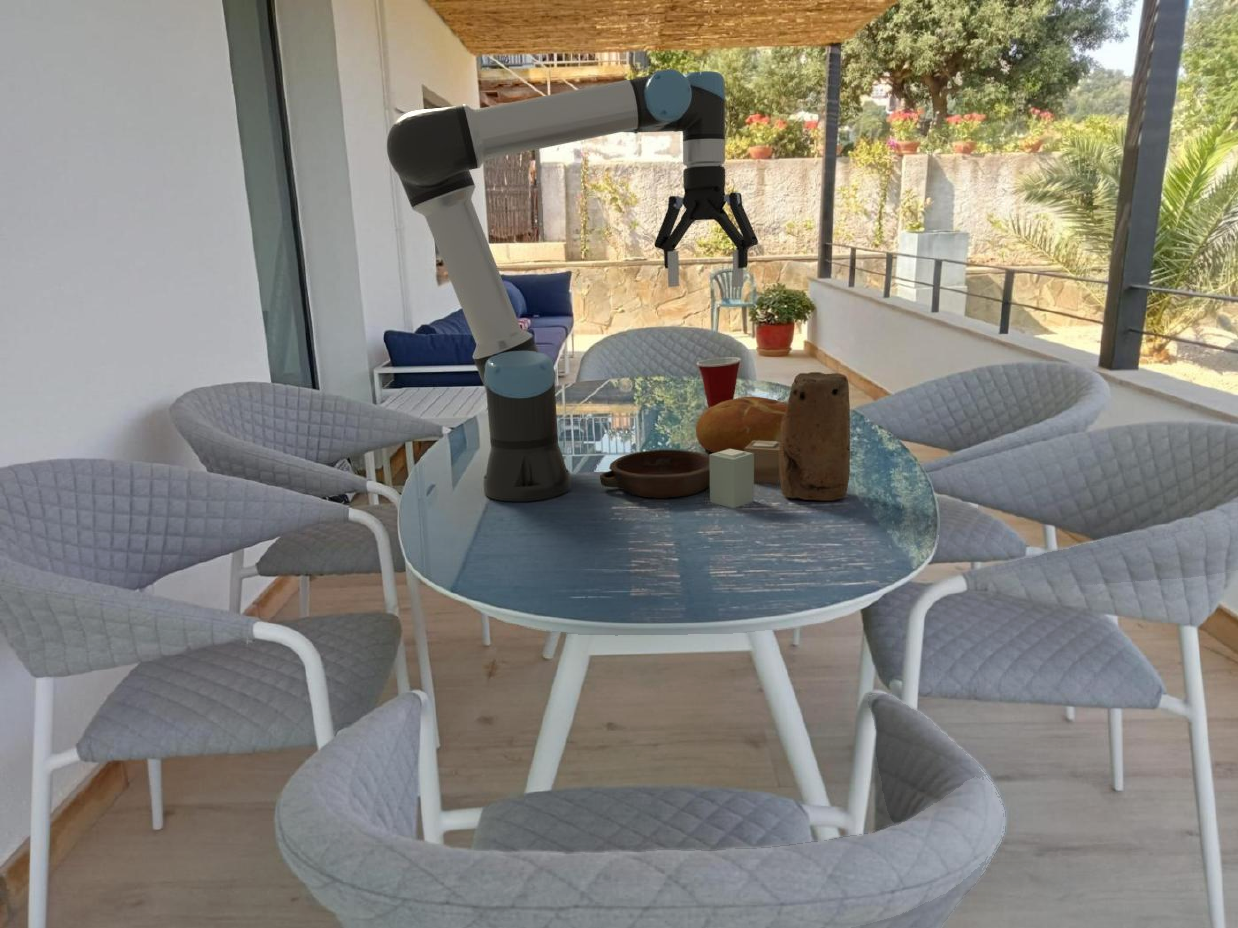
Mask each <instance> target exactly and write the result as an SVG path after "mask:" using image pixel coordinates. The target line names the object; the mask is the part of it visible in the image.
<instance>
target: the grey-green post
mask: <svg viewBox="0 0 1238 928" xmlns="http://www.w3.org/2000/svg"><path fill="white" fill-rule="evenodd" d="M708 456H709V461H710V486H709V502H710V503H711V504H715V505H720V506H723V507H727V508H731V509H736V508H739V507H741V506H744V505H747V504H750V503H753V502H755V482H754V453H750V452H745V451H740V450H735V449H727V450H723V451H720V452H716V453H711V454H709V455H708Z"/></svg>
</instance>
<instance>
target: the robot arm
mask: <svg viewBox="0 0 1238 928" xmlns="http://www.w3.org/2000/svg"><path fill="white" fill-rule="evenodd" d="M725 86H726V85H725V78H724V77H723V75H722V74H721V73H720V72H716V71H713V70H712V71H709V70H708V71H707V70H705V71H704V70H701V71H693V72H688V73H685V74H683V73H682V72H680V71H679V70H676V69H671V68H665V69H661V70H657V71H655V72H654V73H652V74H651V75H646V76H641V77H635V78H631V79H625V80H619V81H614V82H608V83H605V84H599V85H593V86H590V87H589V86H588V87H584V88H579V89H573V90H567V91H563V92H558V93H552V94H548V95H542V96H537V97H533V98H527V99H523V100H517V101H511V102H507V103H501V104H496V105H492V106H486V107H481V108H477V109H476V108H475V109H473V108H471V107H470V106H468V105H467V104H465V103H463V104H459V105H454V106H447V107H438V108H429V109H419V110H413V111H410V112H407V113H405V114H403V115H402V116H401V117H399V118H398V119H397V120H396V121H394V124H393V125H392V127H391V128H390V130H389V133H388V136H387V140H386V152H387V156H388V160H389V162H390V165H391V167H392V168H393V169H394V171H395V172H396V174H397V175H398V178H399V180H400V183H401V184H402V185H401V186H402V187H403V190H404V192H405V195H406V197H407V199H408V201H409V205H410V207H411V209H412V211H415V212H416V213H418V214H420V215H422V216H423V217H424V218H425V220H426V223H427V225H428V228H429V231H430V232H431V235H432V238H433V241H434V243H435V245H436V248H437V250H438V253H439V255H440V258H441V260H442V263H443V265H444V267H445V271H446V273H447V275H448V277H449V280H450V283H451V285H452V287H453V290H454V292H455V296H456V298H457V300H458V302H459V305H460V307H461V310H462V312H463V314H464V318H465V319H466V322H467V325H468V326H469V329H470V333H471V334H472V337H473V339H474V342H475V344H476V345H475V349H474V351H473V354H472V359H473V362H474V364H475V366H476V369H477V372H478V375H479V377H480V379H481V382H482V384H483V387H484V389H485V393H486V394H485V395H486V403H487V417H488V418H487V419H488V427H489V440H490V441H489V442H490V452H489V455H488V460H487V465H486V466H487V467H486V473H485V475H484V477H483V482H482V483H483V484H482V485H483V493H484V495H485V496H486V497H488V498H490V499H494V500H495V501H496V500H497V501H502V502H515V503H516V502H517V503H518V502H532V501H533V502H534V501H542V500H547V499H553V498H554V497H557V496H560V495H563V494H565V493H567V492H568V491H569V490H571V487H572V483H571V473H570V471H569V470H568V468H567V466H566V463H565V459H564V456H563V454H562V451H561V448H560V445H559V434H558V433H559V432H558V415H557V401H556V397H557V396H556V385H555V383H556V382H555V381H556V370H555V367H554V362H553V359H552V358H551V356H549V355H547V354H546V353H543V352H539V348H538V347H537V345H536V342H535V339H534V335H533V334H532V333H530V331H529V332H528V331H526V330H524V329H522V328H521V326H520V323H519V320H518V317H517V315H516V312H515V310H514V307H513V305H512V302H511V299H510V296H509V294H508V291H507V289H506V287H505V284H504V281H503V279H502V275H501V273H500V271H499V269H498V266H497V263H496V260H495V258H494V255H493V253H492V250H491V247H490V244H489V241H488V240H487V237H486V235H485V232H484V230H483V227H482V224H481V221H480V219H479V217H478V214H477V211H476V209H475V206H474V203H473V200H472V197H473V194H474V193H475V188H476V183H475V181H474V178H473V177H472V174H471V171H472V170H476V169H480V168H481V167H482V166H483V164H484V162H485V161H487V160H492V159H496V158H502V157H507V156H512V155H517V154H521V153H526V152H530V151H535V150H536V151H537V150H540V149H541V150H542V149H545V148H550V147H555V146H560V145H564V144H570V143H574V142H580V141H585V140H589V139H590V140H591V139H594V138H599V137H603V136H610V135H613V134H618V133H633V134H639V133H659V132H660V133H663V132H665V133H666V132H667V133H668V132H674V133H678V132H681V133H682V164H683V165H684V166H686V167H685V168H683V173H682V175H683V179H682V180H683V181H682V183H683V190H684V191H683V192H684V194H683V197H681V196H679V195H671V196H669V197H668V204H667V210H666V214H665V215H664V218H663V221H662V223H661V226H660V228H659V231H658V234H657V236H656V238H655V241H654V247H655V248H656V249H660V250H662V251H663V261H664V263H663V264H664V265H663V266H664V269H665V270H666V269H667V287H668V288H674V287H680V277H679V276H680V272H679V271H680V268H679V267H680V266H679V265H680V264H679V262H680V259H679V250H677V249H676V248H677V246H678V245H679V243H680V242H681V240H682V239H683V238H684V235H686V232H687V231H688V230H689V228H690V227H691V225H693V223H695V221H707V220H708V221H709V220H710V221H711V220H712V221H713V220H714V221H715V222H716V223H718V224H719V226H720V228H721V229H722V230H723V231H724V233H725V234H726V235H727V237H728V238H729V240H730V241H731V242H732V244H733V245H734V246H735V247H736V248H735V249H734V250H732V288H742V287H744V269H745V268H747V267H748V264H749V263H748V259H749V258H748V255H749V254H748V251H749V248H752V247H754V246H757V245H758V244H759V240H758V238H757V236H756V233H755V231H754V229H753V227H752V224H751V221H750V220H749V217H748V215H747V212H746V210H745V208H744V205H743V198H742V194H741V192H734V191H733V192H732V191H731V192H730V193H729V194H726V192H725V189H726V168H725V167H724V166H723V165H722V164H724V163H726V140H725V139H726V138H725V136H726V135H725V133H726V132H725V129H726V127H725V126H726V119H725V118H726V103H727V100H726V89H725ZM726 204H727V205H728V206H729V207H730V210H731V212H732V215H733V217H734V220H735V222H736V224H737V226H738V228H739V230H740V231H739V230H738V228H737V227H736V226H735V224H734V223H733V221H732V220H731V219H730V218H729V214H728V213H727V212H726V211H725V209H724V207H725V205H726ZM683 206H684V208H685V210H684V212H683V214H682V215H681V216H680V220H679V222H678V223H677V225H676V226H675V224H676V222H677V219H678V217H679V214H680V212H681V211H680V210H681V209H682V208H683ZM674 227H675V228H674Z"/></svg>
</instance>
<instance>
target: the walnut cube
mask: <svg viewBox="0 0 1238 928" xmlns="http://www.w3.org/2000/svg"><path fill="white" fill-rule="evenodd" d="M744 451H745V452H750V453H754V483H763V484H764V483H766V484H779V483H780V442H775V441H756V440H753V441H752V442H750V443H749V444H748V445H747V446H746V447H745V448H744Z"/></svg>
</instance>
